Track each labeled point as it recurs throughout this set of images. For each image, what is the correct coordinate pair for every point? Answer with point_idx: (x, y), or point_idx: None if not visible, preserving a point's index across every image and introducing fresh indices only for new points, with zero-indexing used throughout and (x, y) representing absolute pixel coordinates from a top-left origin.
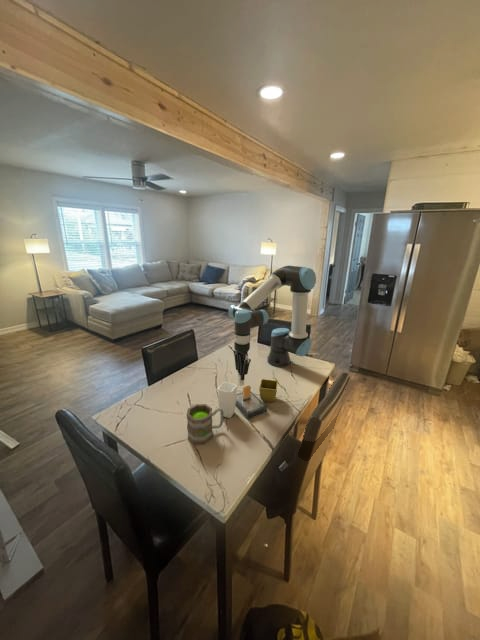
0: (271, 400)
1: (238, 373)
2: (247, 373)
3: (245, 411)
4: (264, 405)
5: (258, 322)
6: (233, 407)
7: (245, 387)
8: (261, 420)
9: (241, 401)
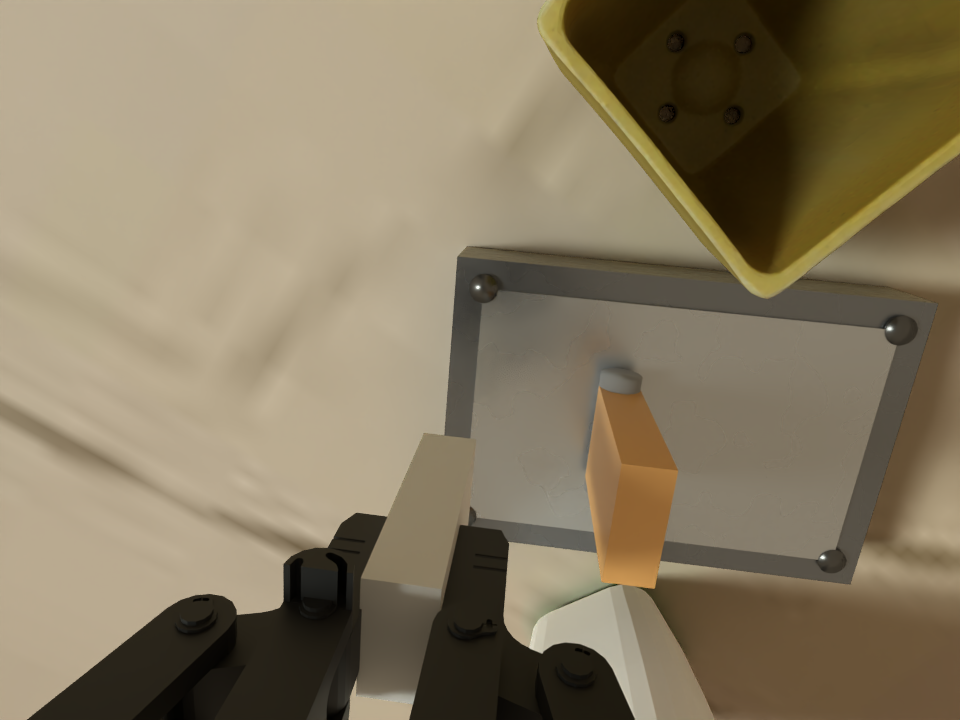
0: (833, 106)
1: (361, 691)
2: (617, 681)
3: (792, 576)
4: (898, 326)
5: None
6: (704, 706)
7: (637, 557)
8: (942, 441)
9: None
